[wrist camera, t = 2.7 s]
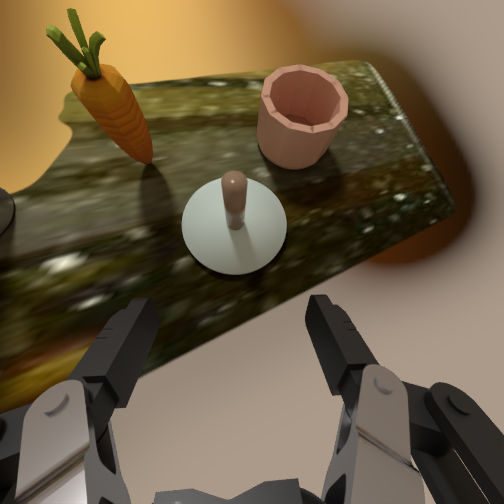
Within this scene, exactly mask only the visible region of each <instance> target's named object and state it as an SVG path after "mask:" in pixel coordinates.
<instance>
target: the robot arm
mask: <svg viewBox="0 0 504 504" xmlns="http://www.w3.org/2000/svg"><path fill="white" fill-rule="evenodd" d="M13 211H14V205H13V200H12V198H11V196H10V195H9V193H7V192H6V191H5V190H4V189H2V188H0V234H1V233H2V232H3V231H4V230H5V229H6V227H7V226H8V224H9V223H10V221H11V219H12V215H13ZM305 323H306V327H307V330H308V333H309V335H310V338H311V341H312V343H313V346H314V348H315V351H316V354H317V357H318V359H319V362H320V364H321V367H322V370H323V373H324V375H325V378H326V381H327V383H328V386H329V389H330V391H331V394H332V395H333V396H334V395H341V396H342V399H343V401H344V404H343V407H342V412H341V417H340V422H339V427H338V432H337V437H336V442H335V447H334V452H333V456H332V460H331V462H330V465H329V468H328V471H327V474H326V479H325V483H324V487H323V492H322V496H321V499H320V498H319V497H317V496H316V495H314V494H313V493H311V492H309V491H307V490H305V489H303V488H300V487H299V481H298V478H296V479H286V480H276V481H266V482H263V483H261V484H259V485H257V486H255V487H253V488H252V489H250V490H248V491H246V492H244V493H242V494H240V495H238V496H237V497H235V498H233V499H230V500H226V499H222V498H219V497H216V496H213V495H210V494H207V493H204V492H201V491H198V490H195V489H184V490H174V491H163V492H156V494H155V498H154V503H152V504H425V496H424V486H423V481H422V478H421V475H422V477H423V479H424V481H425V483H426V485H427V487H428V489H429V491H430V493H431V495H432V497H433V499H434V501H435V503H436V504H489V503H490V504H504V435H503V434H502V432H501V431H500V430H499V429H498V428H497V427H496V425H495V424H494V423H493V422H492V421H491V420H490V418H489V417H488V416H487V415H486V414H485V413H484V411H483V410H482V409H481V408H480V407H479V406H478V405H477V403H476V402H475V401H474V400H473V399H472V398H470V397H469V396H468V395H467V394H466V393H464V392H463V391H461V390H460V389H458V388H456V387H454V386H452V385H450V384H447V383H441V382H438V383H435V384H434V385H432V386H431V387H430V389H428V388H424V387H421V386H417V385H414V384H410V383H407V382H404V381H401V380H400V379H399V378H398V377H397V376H396V375H395V374H394V373H393V372H392V371H390V370H388V369H387V368H385V367H383V366H380V365H379V363H378V362H377V360H376V359H375V357H374V356H373V354H372V352H371V351H370V349H369V348H368V346H367V345H366V343H365V341H364V340H363V338H362V337H361V335H360V334H359V332H358V331H357V330H356V327H355V326H354V324H353V323H352V321H351V319H350V318H349V316H348V315H347V313H346V312H345V311H344V310H343V309H342V308H341V307H339V306H338V305H333V304H332V303H331V301H330V299H329V298H328V296H327V295H311V296H310V299H309V302H308V306H307V311H306V315H305ZM158 327H159V318H158V315H157V312H156V308H155V305H154V302H153V299H152V298H134V299H132V301H131V302H130V304H129V305H128V307H127V308H126V309H121V310H120V311H119V312H117V313H116V314H115V315H114V316H112V317H111V318H110V319H109V321H108V322H107V324H106V325H105V326H104V328H103V331H101V332H100V333H99V335H98V336H97V339H96V340H94V342H93V343H92V345H91V346H90V347H89V349H88V350H87V352H86V353H85V355H84V356H83V357H82V359H81V360H80V362H79V363H78V364H77V366H76V367H75V369H74V370H73V371H72V373H71V374H70V376H69V377H68V378H67V379H66V380H65V381H64V382H61V383H59V384H57V385H55V386H53V387H51V388H50V389H48V390H47V391H45V392H44V393H43V394H42V395H41V396H39V397H38V398H37V399H36V400H35V402H33V403H31V404H28V405H25V406H22V407H19V408H16V409H14V410H11V411H8V412H5V413H2V414H0V504H131V500H130V496H129V493H128V490H127V487H126V485H125V483H124V481H123V478H122V475H121V471H120V466H119V461H118V456H117V450H116V445H115V441H114V435H113V430H112V425H111V421H110V418H111V416H112V414H113V411H114V409H115V408H126V406H127V404H128V401H129V399H130V397H131V394H132V392H133V389H134V387H135V384H136V382H137V380H138V377H139V375H140V372H141V370H142V368H143V365H144V363H145V360H146V358H147V355H148V353H149V351H150V348H151V346H152V343H153V341H154V339H155V336H156V334H157V331H158ZM454 450H455V451H456V452H457V454H458V455H459V456H460V458H461V460H462V461H463V463H464V464H465V466H466V467H467V469H468V470H469V472H470V473H471V475H472V476H473V478H474V479H475V481H476V482H477V484H478V485H479V487H480V488H481V490H482V492H483V493H484V495H485V496H486V498H487V499H488V501H489V502H488V501H487V499H486V498H485V496H484V495H483V493H482V492H481V490H480V489H479V487H478V486H477V484H476V483H475V481H474V480H473V478H472V476H471V475H470V474H469V472H468V470H467V469H466V467H465V466H464V464H463V463H462V461H461V460H460V458H459V457H458V455H457V454H456V452H455V451H454ZM411 455H412V458H413V459H414V462H415V463H416V465H417V467H418V469H419V471H420V473H421V475H420V473H419V471H418V470H417V469H416V468H414V467H413V465H412V462H411Z"/></svg>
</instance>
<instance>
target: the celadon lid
mask: <svg viewBox="0 0 504 504" xmlns="http://www.w3.org/2000/svg"><path fill="white" fill-rule="evenodd" d="M286 228H287V224H286V216H285V212H284V209H283V207H282V205H281V203H280V201H279V200H278V198H277V197H276V196H275V195H274V194H273V193H272V192H271V191H270V190H269V189H268V188H267V187H265V186H264V185H262V184H260V183H258V182H256V181H254V180H251V179H247V178H246V176H245V175H244V174H243V173H241V172H238V171H230V172H227V173H226V174H224V175H223V177H222V178H220V179H217V180H214V181H212V182H209V183H207V184H206V185H204V186H202V187H201V188H200V189H199V190H197V191H196V192H195V193H194V194H193V196H192V197H191V198H190V200H189V201H188V203H187V205H186V207H185V210H184V213H183V217H182V232H183V237H184V240H185V243H186V245H187V247H188V249H189V250H190V252H191V253H192V254H193V256H194V257H195V258H196V259H197V260H198V261H199V262H200V263H202V264H203V265H204V266H206V267H208V268H209V269H211V270H214V271H216V272H219V273H223V274H229V275H241V274H247V273H251V272H254V271H256V270H258V269H260V268H262V267H264V266H265V265H266V264H268V263H269V262H270V261H271V260H272V259H273V258H274V257H275V256H276V254H277V253H278V252H279V250H280V248H281V247H282V245H283V242H284V239H285V235H286Z"/></svg>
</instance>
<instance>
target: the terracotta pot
mask: <svg viewBox="0 0 504 504" xmlns="http://www.w3.org/2000/svg"><path fill="white" fill-rule="evenodd" d="M347 110H348V96H347V95H346V93H345V91H344V90H343V88H342V86H341V85H340V83H339V81H338V80H336V79H335V78H333V77H332V76H330V75H329V74H327V73H326V72H324V71H323V70H321V69H317V68H313V67H309V66H304V65H293V66H288V67H281V68H278V69H277V70H276V71H275V72H273V73H272V74H271V75H270V76H268V77H267V78H266V79H265V82H264V86H263V90H262V94H261V101H260V109H259V118H258V127H257V135H256V138H257V140H258V143H259V147H260V150H261V152H262V153H263V155H264V156H265V157H266V158H267V159H268V160H269V161H270V162H272V163H273V164H275V165H277V166H279V167H281V168H285V169H290V170H299V169H304V168H307V167H309V166H311V165H313V164H315V163H316V162H317V161H318V160H319V159H320V157H321V156H322V155H323V154H324V153H325V152H326V150H327V149H328V147H329V145H330V144H331V142H332V140H333V138H334V137H335V135H336V133H337V132H338V130H339V128H340V126H341V125H342V123H343V121H344V120H345V118H346V116H347Z"/></svg>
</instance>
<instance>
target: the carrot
mask: <svg viewBox="0 0 504 504" xmlns="http://www.w3.org/2000/svg"><path fill="white" fill-rule="evenodd" d="M67 13H68V17H69V20H70V23H71V26H72V29H73V31H74V33H75V35H76V38H77V40H78V42H79V44H80V47H81V50H82V52H83V55H84V56H83V55H82V54H81V53H80V52H79V51H78V50H77V49H76V48H75V46H74V45H73V44H72V43H71V42H70V41H68V40H67V39H66V37H65V36H64V34H63V33H62V32H61V31H60V30H59V29H58V28H56V27H55V26H53V25H50V26H48V27H47V28H46V34H47V36H48V37H49V38H50V39H52V41H53V42H54V43H55V44H56V46H57V47H58V48H59V49H60V50H61V51H62V52H63V53H64V54H65V55H66V57H68V59H69V60H71V61H72V62H73V63H74V65H75V66H77V67H78V69H77V70H76V73H75V75H74V77H73V79H72V81H71V88H72V90H73V92H74V93H75V95H76V96H77V97H78V99H79V100H80V101H81V103H82V104H83V105H84V106H85V108H86V109H87V110H88V111H89V113H90V114H91V115H92V116H93V117H94V119H95V120H96V121H97V122H98V124H99V125H100V126H101V127H102V128H103V130H104V131H105V132H106V133H107V134H108V135H109V137H110V138H111V139H112V140H113V141H114V142H115V143H116V144H117V145H118V146H119V147H120V148H121V149H122V150H124V151H125V152H126V153H127V154H128V155H129V156H131V157H132V158H134V159H135V160H137V161H139V162H142V163H144V164H150V163H151V161H152V154H153V149H152V141H151V137H150V133H149V130H148V127H147V123H146V121H145V118H144V116H143V114H142V112H141V109H140V107H139V105H138V103H137V101H136V98H135V96H134V94H133V92H132V90H131V88H130V86H129V84H128V83H127V82H126V80H125V79H124V78H123V77H122V76H121V75H120V73H119V72H118V71H117V70H116V69H115V68H114V67H112V66H110V65H105V64H99V58H98V56H99V49H100V45H101V44H102V43H103V42H104V41H105V40H106V39H105V38H104V36H103V35H102V34H101V33H99V32H97V31H96V32H95V33H93V35H92V36H91V37H90V38H89V48H88V45H87V42H86V39H85V36H84V33H83V30H82V27H81V24H80V21H79V18H78V15H77V13H76V10H75V9H71V8H70V9H67ZM84 57H85V58H84Z"/></svg>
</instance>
